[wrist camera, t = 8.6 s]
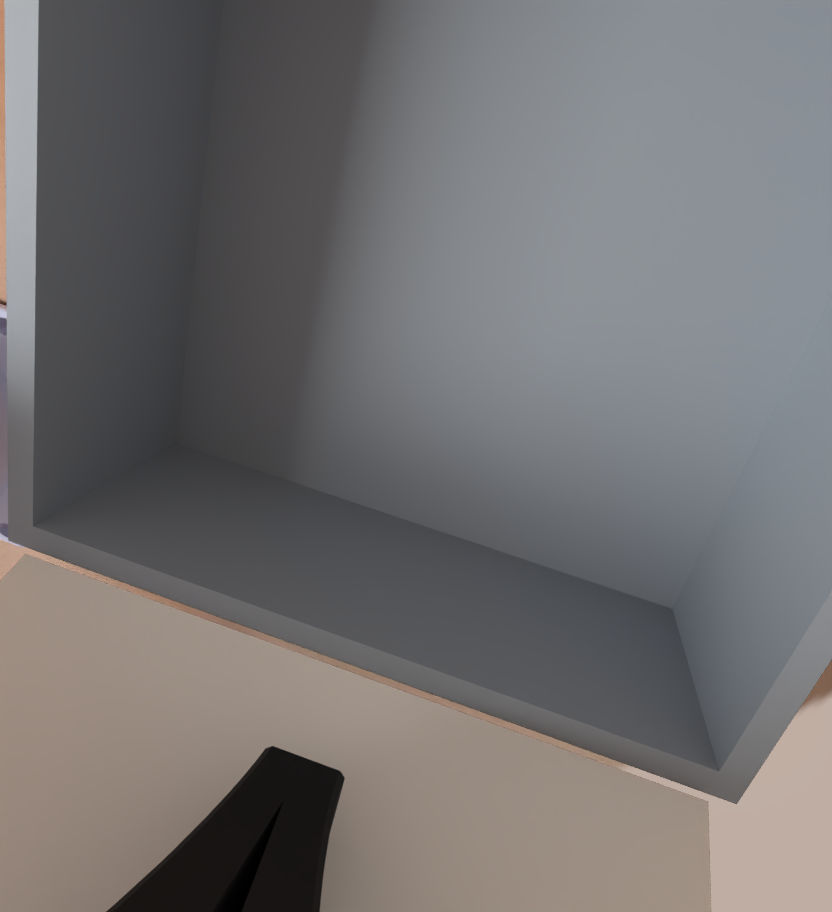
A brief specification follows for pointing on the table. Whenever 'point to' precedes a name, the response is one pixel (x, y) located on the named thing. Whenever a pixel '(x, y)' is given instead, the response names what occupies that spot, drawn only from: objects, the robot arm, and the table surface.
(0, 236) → the table surface
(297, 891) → the robot arm
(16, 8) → the carton
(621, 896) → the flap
